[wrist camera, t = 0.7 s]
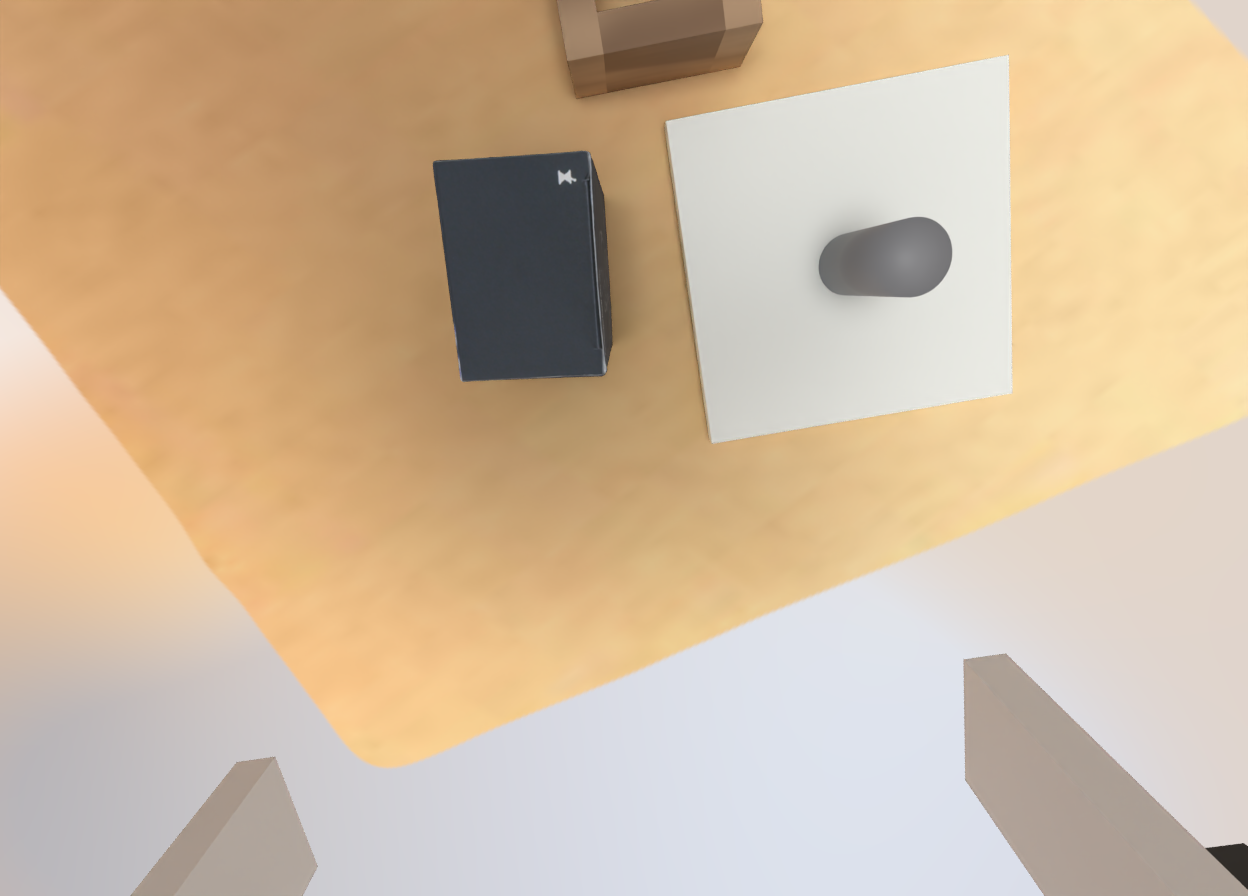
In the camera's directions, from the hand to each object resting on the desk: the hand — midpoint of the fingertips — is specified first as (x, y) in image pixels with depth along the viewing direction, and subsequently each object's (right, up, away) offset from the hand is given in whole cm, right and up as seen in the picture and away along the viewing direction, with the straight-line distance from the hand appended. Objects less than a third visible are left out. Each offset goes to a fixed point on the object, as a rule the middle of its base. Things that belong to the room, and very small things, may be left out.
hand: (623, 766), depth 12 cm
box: (-4, +15, +20) cm, 26 cm away
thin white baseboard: (+11, +16, +20) cm, 28 cm away
